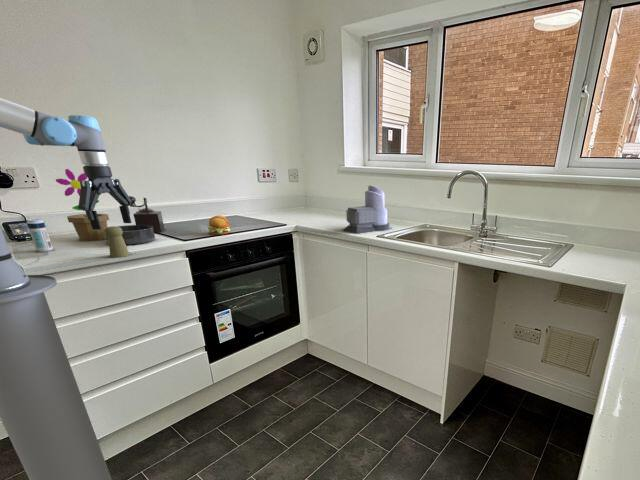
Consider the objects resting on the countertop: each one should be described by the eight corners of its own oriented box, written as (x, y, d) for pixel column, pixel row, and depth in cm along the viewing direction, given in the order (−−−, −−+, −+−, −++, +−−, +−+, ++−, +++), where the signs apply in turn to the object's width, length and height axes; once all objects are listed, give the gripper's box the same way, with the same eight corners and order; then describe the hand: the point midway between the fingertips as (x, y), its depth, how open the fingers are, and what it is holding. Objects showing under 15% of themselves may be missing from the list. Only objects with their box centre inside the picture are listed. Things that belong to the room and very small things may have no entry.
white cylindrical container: (51, 248, 140) (41, 218, 136) (55, 250, 138) (44, 220, 133) (35, 250, 137) (24, 219, 132) (38, 252, 134) (27, 221, 130)
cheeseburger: (226, 230, 186) (225, 212, 181) (234, 238, 181) (233, 220, 176) (205, 232, 180) (204, 213, 175) (213, 240, 174) (212, 221, 169)
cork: (116, 253, 137) (109, 225, 133) (133, 253, 138) (126, 225, 133) (106, 257, 131) (98, 228, 127) (123, 257, 132) (116, 228, 128)
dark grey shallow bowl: (135, 246, 148) (132, 232, 146) (97, 244, 149) (93, 230, 147) (164, 238, 164) (161, 225, 162) (129, 237, 165) (126, 224, 163)
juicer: (377, 224, 220) (377, 184, 211) (396, 228, 210) (397, 185, 202) (340, 230, 199) (339, 185, 190) (359, 234, 189) (358, 187, 180)
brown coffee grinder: (140, 229, 182) (131, 193, 175) (165, 228, 186) (157, 193, 180) (133, 235, 169) (123, 196, 162) (159, 234, 173) (151, 196, 167)
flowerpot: (69, 242, 151) (45, 168, 140) (79, 236, 162) (58, 167, 151) (110, 240, 157) (91, 169, 146) (117, 234, 169) (99, 168, 158)
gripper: (115, 164, 134) (130, 220, 142) (50, 165, 111) (72, 231, 119) (134, 165, 134) (147, 221, 142) (72, 166, 111) (92, 232, 119)
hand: (113, 226), depth 130 cm, fingers open, 13 cm apart
